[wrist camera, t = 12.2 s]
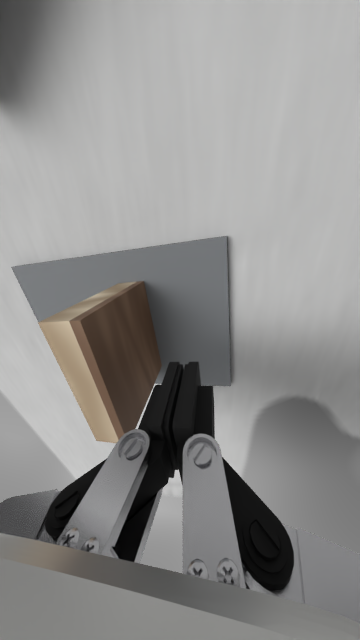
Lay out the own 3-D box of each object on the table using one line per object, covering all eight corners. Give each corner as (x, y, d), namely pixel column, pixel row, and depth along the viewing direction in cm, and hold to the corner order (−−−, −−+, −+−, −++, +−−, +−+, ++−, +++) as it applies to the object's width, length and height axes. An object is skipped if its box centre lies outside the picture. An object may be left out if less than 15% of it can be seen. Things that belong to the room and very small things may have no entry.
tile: (143, 280, 15) (79, 320, 8) (161, 365, 19) (128, 444, 12) (118, 283, 16) (37, 322, 9) (140, 365, 19) (96, 440, 12)
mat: (226, 236, 13) (226, 235, 13) (230, 381, 19) (230, 386, 18) (17, 266, 18) (11, 267, 17) (70, 376, 23) (67, 380, 23)
